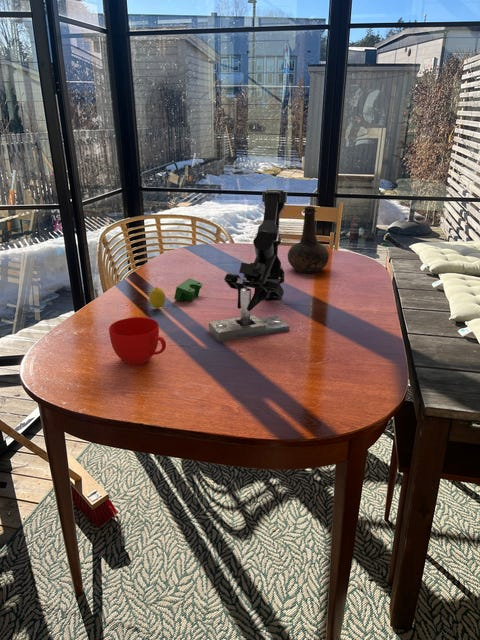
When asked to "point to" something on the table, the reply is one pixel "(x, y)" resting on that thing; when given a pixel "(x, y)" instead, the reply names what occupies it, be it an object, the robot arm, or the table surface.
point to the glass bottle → (308, 247)
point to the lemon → (157, 297)
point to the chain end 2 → (267, 327)
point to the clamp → (187, 290)
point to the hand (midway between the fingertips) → (243, 309)
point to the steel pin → (245, 307)
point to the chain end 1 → (234, 328)
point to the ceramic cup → (136, 339)
